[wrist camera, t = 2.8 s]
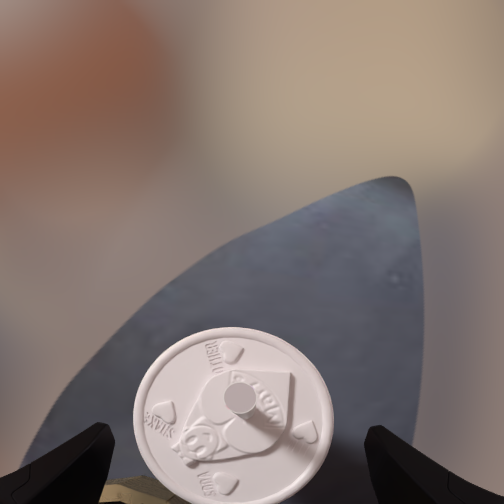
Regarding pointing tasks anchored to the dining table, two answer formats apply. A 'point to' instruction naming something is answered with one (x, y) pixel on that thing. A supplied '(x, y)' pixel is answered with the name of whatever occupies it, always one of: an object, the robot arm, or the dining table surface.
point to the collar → (139, 492)
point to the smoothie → (233, 418)
